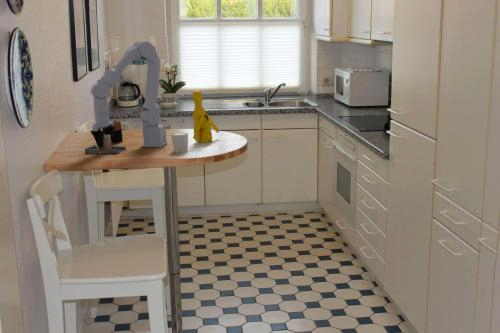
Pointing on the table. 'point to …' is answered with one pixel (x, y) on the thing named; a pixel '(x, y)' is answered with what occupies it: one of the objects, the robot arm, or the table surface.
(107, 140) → the jar
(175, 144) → the beige cylinder
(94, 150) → the frame
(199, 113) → the figure statuette
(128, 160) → the table surface
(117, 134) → the battery
